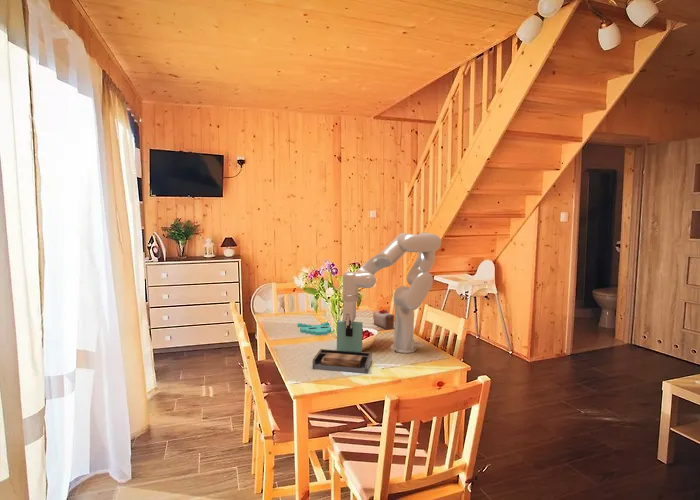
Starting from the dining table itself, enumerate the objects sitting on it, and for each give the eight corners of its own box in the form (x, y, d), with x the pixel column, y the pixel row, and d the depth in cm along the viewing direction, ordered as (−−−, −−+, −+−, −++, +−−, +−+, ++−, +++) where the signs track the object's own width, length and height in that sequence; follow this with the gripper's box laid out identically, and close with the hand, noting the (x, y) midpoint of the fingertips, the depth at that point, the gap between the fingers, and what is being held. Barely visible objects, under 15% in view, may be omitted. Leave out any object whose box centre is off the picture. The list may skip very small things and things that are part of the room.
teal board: (362, 350, 207) (362, 322, 206) (361, 352, 205) (361, 323, 204) (337, 348, 210) (338, 320, 208) (336, 350, 207) (337, 321, 206)
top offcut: (362, 359, 189) (362, 355, 189) (359, 364, 184) (359, 360, 183) (327, 356, 193) (327, 352, 193) (323, 360, 187) (323, 357, 187)
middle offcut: (358, 361, 191) (359, 358, 190) (357, 366, 185) (357, 363, 185) (323, 359, 193) (323, 356, 193) (320, 364, 187) (320, 361, 187)
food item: (371, 324, 257) (371, 308, 256) (381, 322, 261) (381, 306, 260) (385, 330, 246) (385, 313, 245) (396, 328, 250) (396, 311, 249)
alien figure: (297, 326, 252) (303, 337, 233) (297, 323, 252) (303, 333, 233) (330, 324, 258) (339, 334, 239) (330, 320, 258) (339, 330, 239)
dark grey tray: (371, 363, 196) (371, 352, 195) (367, 375, 182) (367, 364, 181) (320, 359, 200) (320, 349, 200) (312, 371, 186) (312, 359, 186)
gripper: (345, 293, 213) (345, 329, 215) (339, 301, 197) (338, 340, 199) (360, 294, 212) (360, 330, 214) (355, 302, 196) (354, 341, 198)
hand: (349, 334), depth 207 cm, fingers closed on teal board, 2 cm apart
